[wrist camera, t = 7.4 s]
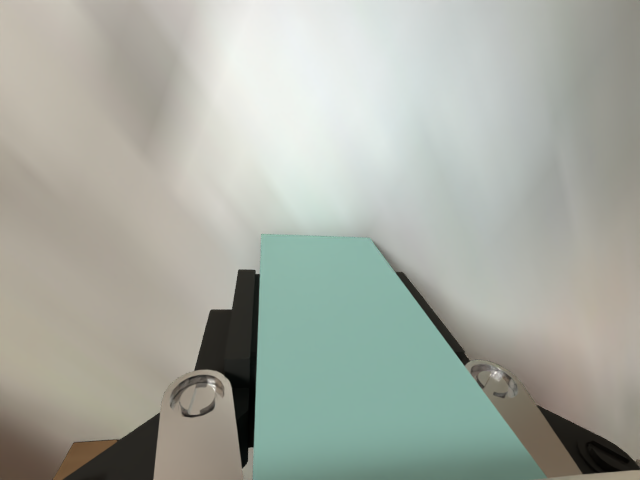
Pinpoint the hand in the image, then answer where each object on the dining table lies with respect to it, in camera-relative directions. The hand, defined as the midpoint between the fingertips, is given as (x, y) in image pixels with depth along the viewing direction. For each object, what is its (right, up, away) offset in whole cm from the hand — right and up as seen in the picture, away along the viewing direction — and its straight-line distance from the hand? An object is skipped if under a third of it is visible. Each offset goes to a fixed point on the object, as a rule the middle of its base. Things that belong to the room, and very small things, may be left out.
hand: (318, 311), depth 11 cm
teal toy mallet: (-1, -8, +5) cm, 9 cm away
